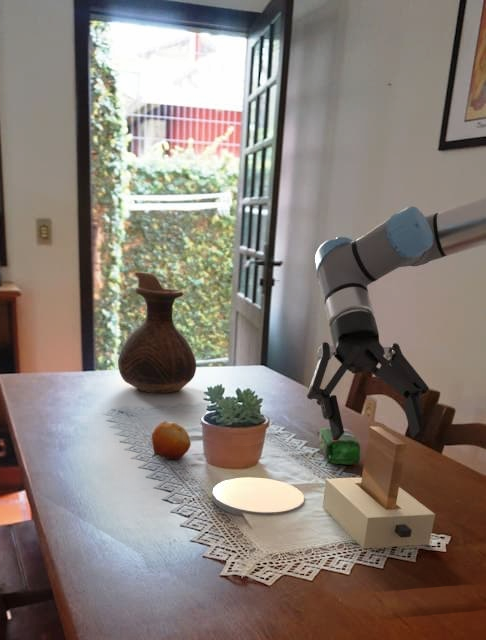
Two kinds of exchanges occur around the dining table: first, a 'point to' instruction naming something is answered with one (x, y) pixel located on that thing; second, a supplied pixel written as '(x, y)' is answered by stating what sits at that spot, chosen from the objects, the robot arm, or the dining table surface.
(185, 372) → the jug
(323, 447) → the snack package
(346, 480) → the toaster
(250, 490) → the plate
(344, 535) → the dining table surface
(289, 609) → the dining table surface
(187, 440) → the fruit
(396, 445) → the toast
